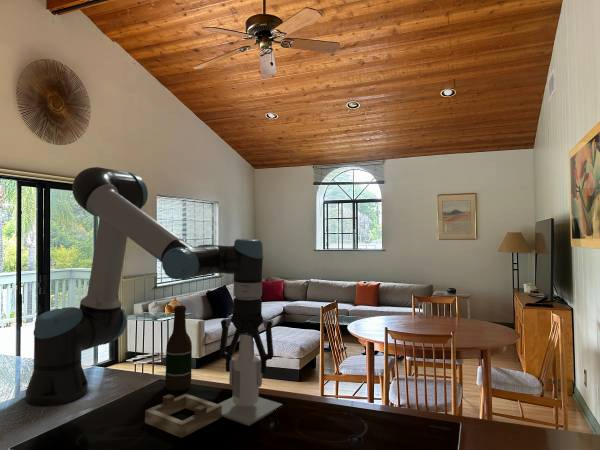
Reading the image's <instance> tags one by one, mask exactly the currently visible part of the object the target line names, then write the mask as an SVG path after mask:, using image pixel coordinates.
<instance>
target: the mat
mask: <svg viewBox="0 0 600 450" xmlns="http://www.w3.org/2000/svg"><path fill="white" fill-rule="evenodd" d="M217 404H218V405H221V406H222V417H221V418H225V419H228V420H231V421H234V422H237V423H240V424H243V425H245V426H251V425H253V424H254V423H256V422H257V421H260V420H261V419H264V418H265V417H267V416H269V415H270V414H271V413H274V412H275V411H277V410H278V409H277V408H279V407H280V406H282V407H283V403H280V402H277V401H274V400H271V399H267V398H263V397H260V396H258V402H257V403H256V404H254V405H251V406H239V405H236V404H234V403H233V396H232V397H230V398H228V399H225V400H223V401H221V402H219V403H217ZM280 408H281V407H280ZM280 408H279V409H280ZM276 409H277V410H276ZM274 410H275V411H274ZM273 411H274V412H273Z"/></svg>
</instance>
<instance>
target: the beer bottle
mask: <svg viewBox="0 0 600 450" xmlns="http://www.w3.org/2000/svg"><path fill="white" fill-rule="evenodd" d="M173 311H174V316H173V326H172V327H173V329H172V333H171V335H170V336H169V338H168V341H167V343H166V349H165V381H164V382H165V389H166V391H167V390H168V391H170V392H184V391H186V390H188V389H190V388H191V385H192V364H193V363H192V361H193V360H192V359H193V358H192V356H193V355H192V354H193V346H192V339H191V337H190V335H189V333H188V332H187V325H186V311H187V307H186V306H185V305H175V306H174V307H173Z"/></svg>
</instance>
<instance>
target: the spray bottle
mask: <svg viewBox="0 0 600 450" xmlns="http://www.w3.org/2000/svg"><path fill="white" fill-rule="evenodd" d="M238 343H239V346H238V347H239V348H238V355H237V356H235V357H234V358H235V359H234V360H233V385H232V397H233V403H234V404H236V405H239V406H251V405H254V404H256V403H257V402H258V397H259V392H260V391H259V390H260V389H259V388H260V387H258V361H259V359H260V358H259V357H257V356H256V355H255V340H254V338H253V336H252V334H249V333H240V336H239V341H238Z"/></svg>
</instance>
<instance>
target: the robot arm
mask: <svg viewBox="0 0 600 450" xmlns="http://www.w3.org/2000/svg"><path fill="white" fill-rule="evenodd" d="M71 191H72V192H71V193H72V194H73V195H72V196H73V198H74V200H75V202H76V203H77V204H78V205H79V206H80V207H81V208H82V209H83V210H84V211H86V212H87V213H89V214H90V215H91V216H94V217H98V219H99V221H98V225H97V231H96V238H95V244H94V250H93V258H92V263H91V270H90V275H89V276H90V277H89V282H88V287H87V288H88V289H87V295H86V296H84V297H83V298H82V299H80V303H79V307H73V306H72V307H71V306H70V307H69V306H68V307H61V308H54V309H51V310H47V311H45V312H43V313H41V314H40V315H38V316H37V317H36V319H35V320H34V330H33V343H34V344H33V345H34V346H33V372H32V374H31V377H30V379H29V382H28V386H27V388H26V390H25V402H26V403H27V404H29V405H32V406H36V407H39V406H41V407H46V406H49V407H50V406H57V405H62V404H67V403H71V402H73V401H76V400H78V399H80V398H83V397H84V396H85V395H86V394H87V393H88V390H89V389H88V388H89V387H88V386H89V384H88V380H87V378H86V374H85V371H84V369H83V367H82V351H83V352H84V351H87V350H90V349H93V348H96V347H99V346H102V345H107V344H110V343H112V342H113V341H116V340H117V339H118V338H120V337H121V336H122V334H123V333H124V332H125V330H126V327H127V322H128V319H127V317H128V316H127V314H125V313H126V311H125V309H124V308H123V307H122V301H121V299H119V298H118V297H119V291H120V283H121V279H122V278H121V277H122V272H123V268H124V267H123V266H124V260H125V253H126V248H127V243H128V238H129V240H131V241H133V242H134V243H135V244H137V245H138V246H139V247H141V248H142V249H143V250H145V251H146V252H147V253H149V254H150V255H152V256H153V257H154V258H155V259H157V261H160V263H161V267H162V270H163V271H164V274H165V275H166V276H167V277H168V278H170V279H173V280H187V279H190V278H192V279H193V278H197V277H201V276H207V275H212V274H227V275H233V289H232V290H233V291H232V293H233V297H234V298H233V301H232V303H233V304H232V316H231V317H229V318H227V317H226V318H223V319H222V320H221V321H220V325H221V328H222V329H221V337H220V345H219V353H218V356H219V357H220V358H222V359H225V372H226V373H229V380H228V383H229V384H228V386H229V387H230V386H231V387H233V360H234V359H235V358H236V357H233V354H234V352H235V349H236V348H237V343H239V340H240V333H249V334H252V336H253V341H254V344H255V346H256V350H257V352H258V355H259V358H258V359H259V361H258V387H259V388H261V387H262V384H263V374H265V373H266V371H267V361H269V360H272V359H273V357H274V344H273V331H272V327H273V324H274V320H272V319H265V318H264V317H263V314H262V313H263V312H262V311H263V310H262V308H263V302H262V301H263V300H262V298H261V297H262V296H263V262H264V261H263V259H264V252H263V251H264V249H263V242H262V241H261V240H260V239H257V238H256V239H255V238H254V239H253V238H237V239H235V240H234V244H233V245H219V244H216V245H215V244H200V245H197V246H192V245H191V244H189V243H188V242H187V241H184V240H183V239H182V238H181V237H179V236H178V235H177V234H176V233H174V232H172V230H170V229H168V228H167V227H165V226H164V225H162V224H161V223H159V222H158V221H157V220H156V219H154V218H153V217H152V216H150V215H149V214H148V213H146V212H145V211H143V210H142V209H143V207H144V206H145V205H146V203H147V201H148V197H149V191H148V187H147V184H146V183H145V181H144V179H143V178H142V177H141V176H140V175H138V174H136V173H133V172H131V171H130V172H129V171H126V170H118V169H111V168H104V167H99V166H96V167H93V166H92V167H88V168H85V169H83V170H82V171H80V172H79V173H78V174H77V175H76V176H75V178H74V180H73V183H72V188H71ZM231 323H232V325H233V326H234V328H235V331H234V334H233V337H232V340H231V343H230V345H229V348H228V350H227V346H228V337H229V329H230V326H231ZM261 325H263V328H264V329H265V340H266V341H265V342H266V350H265V348H264V344H263V341H262V338H261V334H260V330H259V327H260V326H261ZM266 351H267V353H266Z"/></svg>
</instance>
